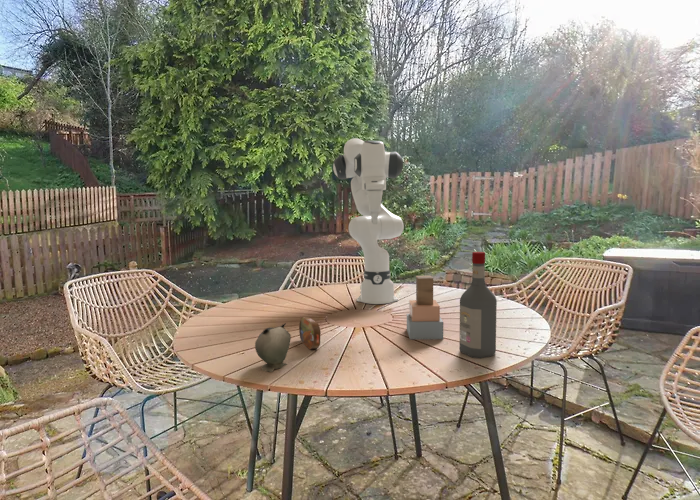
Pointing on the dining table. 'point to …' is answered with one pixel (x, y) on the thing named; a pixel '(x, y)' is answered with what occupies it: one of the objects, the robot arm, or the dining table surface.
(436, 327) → the tower base
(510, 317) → the dining table surface
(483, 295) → the liquor
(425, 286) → the walnut block
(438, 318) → the tower top
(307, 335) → the tin
